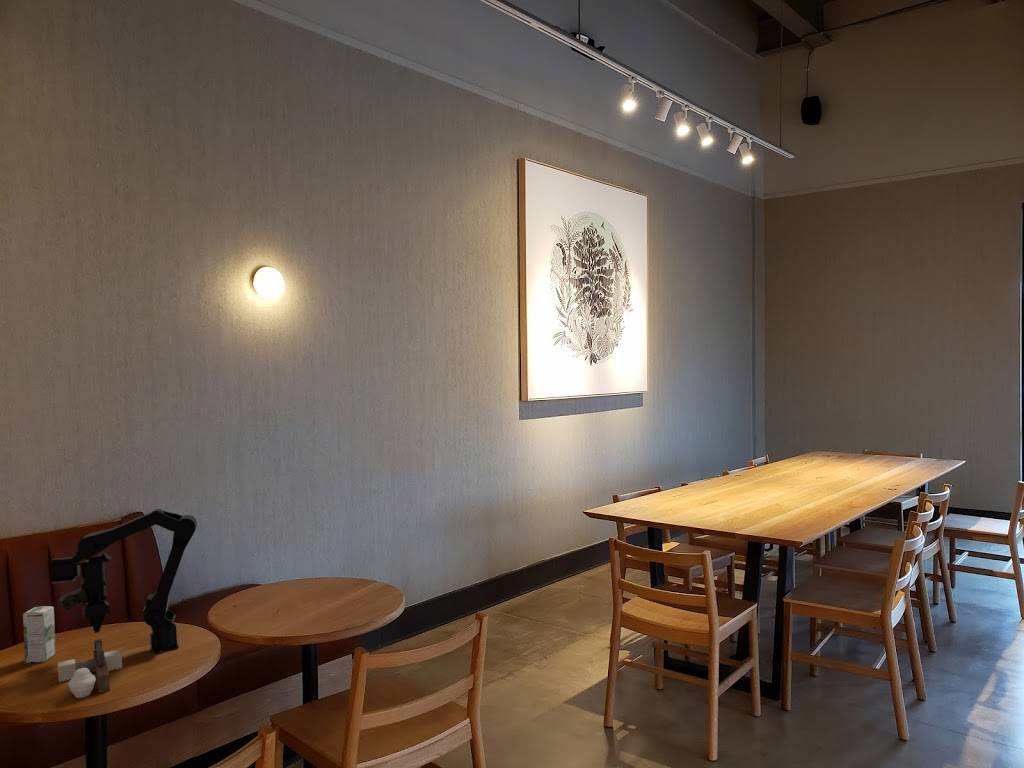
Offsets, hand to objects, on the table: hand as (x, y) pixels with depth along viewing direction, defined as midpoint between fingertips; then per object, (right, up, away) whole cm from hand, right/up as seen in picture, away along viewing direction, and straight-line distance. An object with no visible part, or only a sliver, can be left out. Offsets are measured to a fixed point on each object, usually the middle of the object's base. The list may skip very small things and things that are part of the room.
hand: (96, 632), depth 216 cm
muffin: (+10, -8, -25) cm, 28 cm away
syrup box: (-17, -8, +1) cm, 19 cm away
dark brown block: (+9, -7, -14) cm, 19 cm away
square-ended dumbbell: (+4, -8, -10) cm, 14 cm away
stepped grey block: (+7, -3, -11) cm, 13 cm away
